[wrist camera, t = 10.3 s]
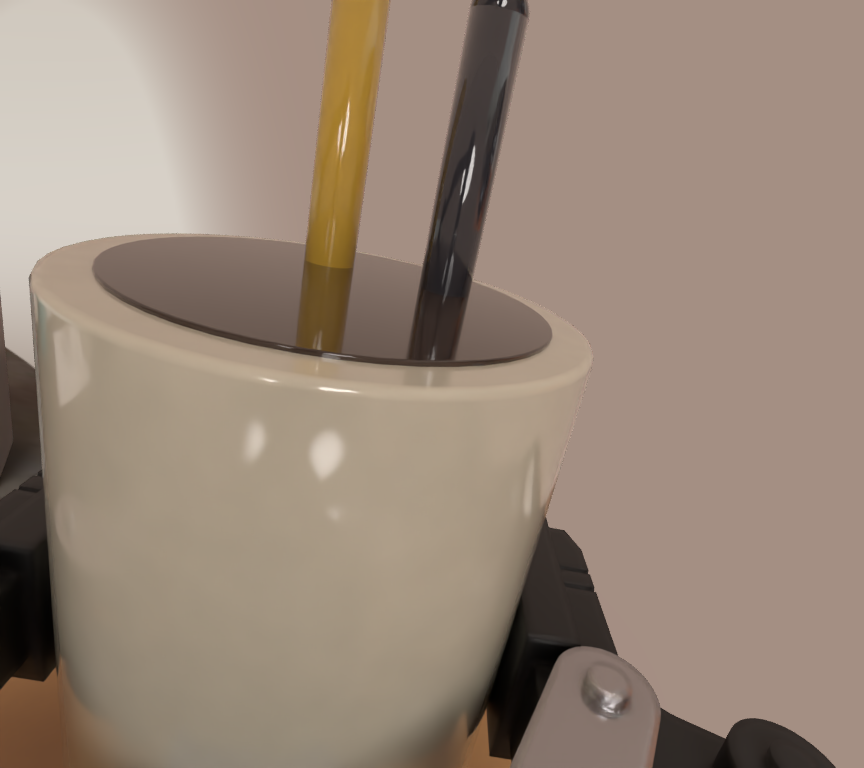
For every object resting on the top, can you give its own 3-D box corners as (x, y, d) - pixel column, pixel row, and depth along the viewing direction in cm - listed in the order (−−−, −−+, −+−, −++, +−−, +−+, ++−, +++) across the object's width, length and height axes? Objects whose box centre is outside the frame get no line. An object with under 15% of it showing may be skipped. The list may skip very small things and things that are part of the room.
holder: (316, 1229, 7) (886, -700, 2) (-19, 942, 9) (-263, -439, 3) (467, 783, 13) (712, 5, 7) (243, 662, 14) (307, -33, 9)
